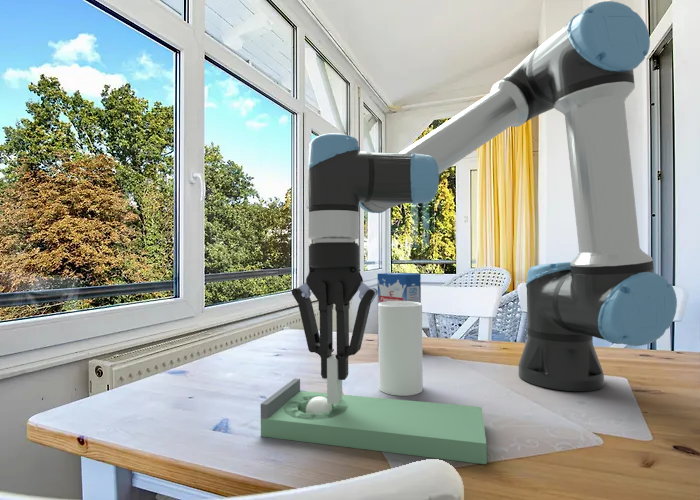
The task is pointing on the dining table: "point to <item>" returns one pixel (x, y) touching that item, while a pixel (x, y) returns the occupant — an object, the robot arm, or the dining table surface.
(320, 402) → the ball
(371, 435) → the green
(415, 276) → the milk carton
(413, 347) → the cup
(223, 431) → the dining table surface
